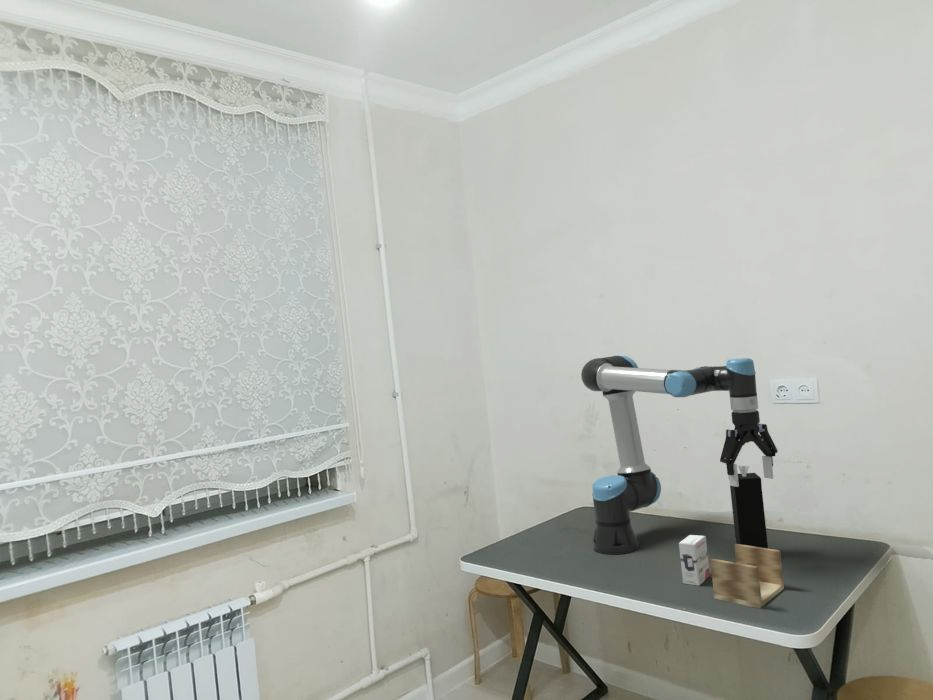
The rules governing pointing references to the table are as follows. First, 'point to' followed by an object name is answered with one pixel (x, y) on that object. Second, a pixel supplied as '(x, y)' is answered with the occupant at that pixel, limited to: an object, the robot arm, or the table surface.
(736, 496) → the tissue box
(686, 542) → the ink box
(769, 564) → the holder
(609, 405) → the robot arm
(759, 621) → the table surface
